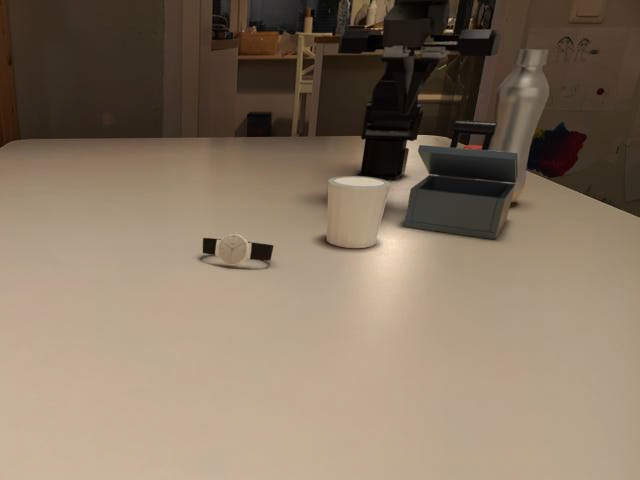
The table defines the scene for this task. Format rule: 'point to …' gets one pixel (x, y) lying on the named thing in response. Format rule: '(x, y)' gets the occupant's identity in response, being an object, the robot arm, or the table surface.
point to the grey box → (459, 206)
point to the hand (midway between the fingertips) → (404, 114)
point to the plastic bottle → (520, 109)
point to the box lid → (471, 156)
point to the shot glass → (355, 210)
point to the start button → (473, 147)
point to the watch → (236, 249)
